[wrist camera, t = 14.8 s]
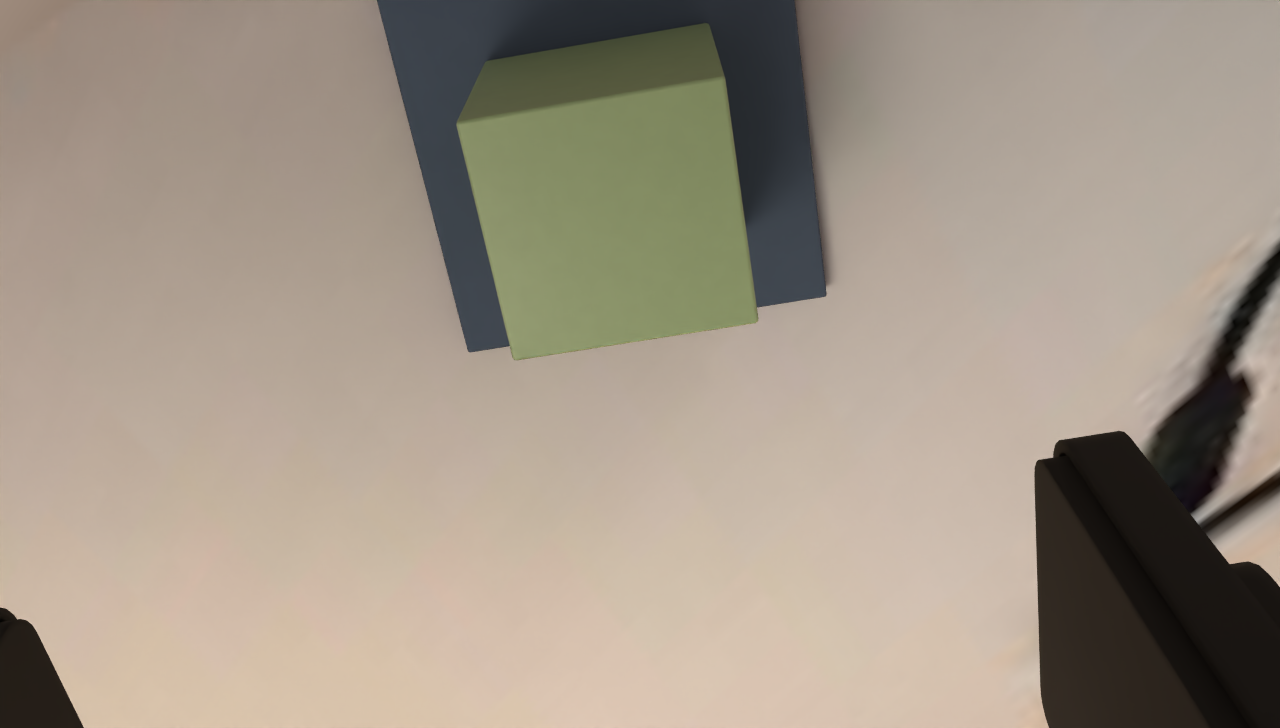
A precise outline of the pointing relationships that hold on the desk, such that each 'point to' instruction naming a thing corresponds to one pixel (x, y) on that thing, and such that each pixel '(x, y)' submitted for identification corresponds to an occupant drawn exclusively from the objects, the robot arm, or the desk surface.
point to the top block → (609, 192)
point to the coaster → (591, 12)
